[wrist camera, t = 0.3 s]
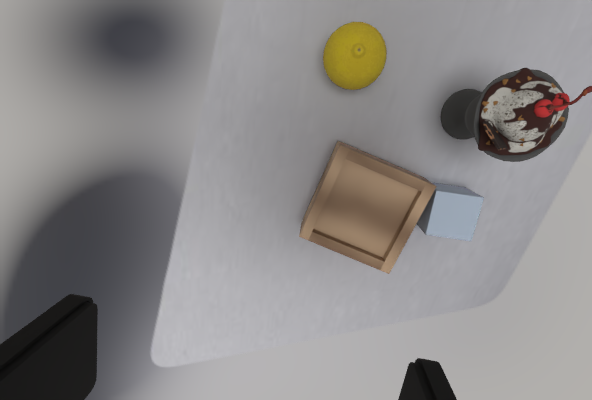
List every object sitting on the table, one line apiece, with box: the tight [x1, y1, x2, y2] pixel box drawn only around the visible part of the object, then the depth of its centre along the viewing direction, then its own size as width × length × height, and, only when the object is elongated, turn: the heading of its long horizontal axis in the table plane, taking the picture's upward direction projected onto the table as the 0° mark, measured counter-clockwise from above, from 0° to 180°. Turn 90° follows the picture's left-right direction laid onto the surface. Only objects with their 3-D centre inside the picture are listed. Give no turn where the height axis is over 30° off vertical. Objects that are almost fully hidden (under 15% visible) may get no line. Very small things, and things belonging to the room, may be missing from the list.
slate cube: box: [417, 183, 484, 241], centre depth 36 cm, size 4×4×4 cm
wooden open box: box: [299, 141, 437, 274], centre depth 36 cm, size 10×10×4 cm
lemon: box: [323, 22, 386, 90], centre depth 31 cm, size 6×6×8 cm
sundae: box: [441, 68, 592, 162], centre depth 28 cm, size 7×7×15 cm
